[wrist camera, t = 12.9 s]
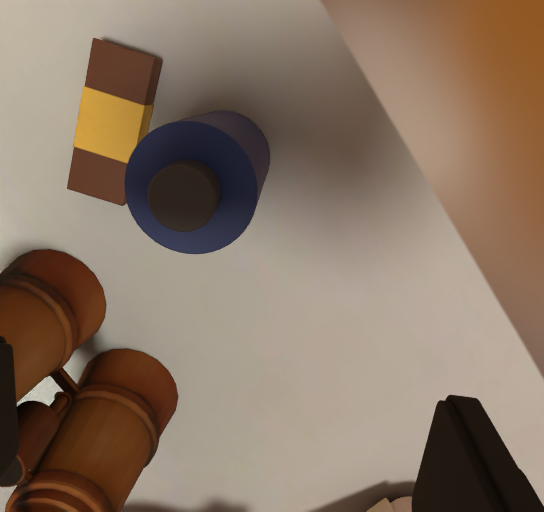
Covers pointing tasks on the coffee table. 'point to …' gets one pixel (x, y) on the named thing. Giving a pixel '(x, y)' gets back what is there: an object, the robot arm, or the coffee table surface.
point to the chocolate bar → (111, 118)
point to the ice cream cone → (393, 505)
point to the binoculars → (76, 393)
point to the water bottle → (197, 181)
